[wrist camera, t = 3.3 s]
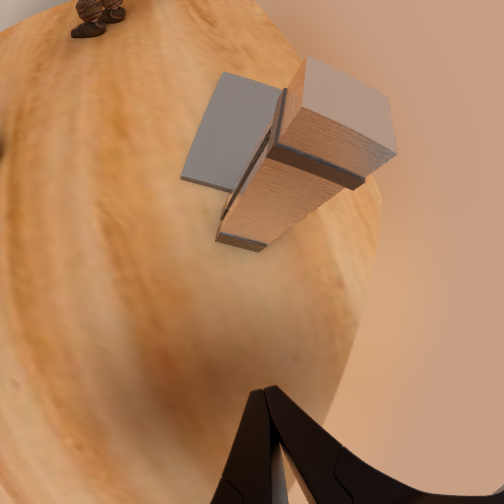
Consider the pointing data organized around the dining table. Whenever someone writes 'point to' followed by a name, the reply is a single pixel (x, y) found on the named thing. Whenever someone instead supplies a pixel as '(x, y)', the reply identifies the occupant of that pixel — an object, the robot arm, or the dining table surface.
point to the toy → (96, 16)
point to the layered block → (308, 154)
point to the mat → (229, 131)
